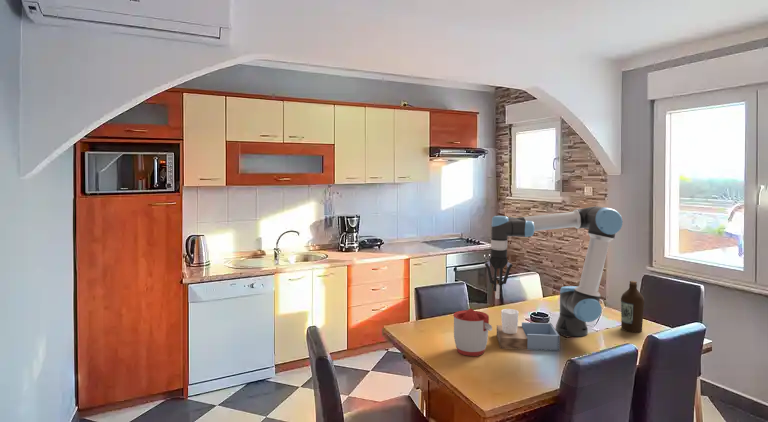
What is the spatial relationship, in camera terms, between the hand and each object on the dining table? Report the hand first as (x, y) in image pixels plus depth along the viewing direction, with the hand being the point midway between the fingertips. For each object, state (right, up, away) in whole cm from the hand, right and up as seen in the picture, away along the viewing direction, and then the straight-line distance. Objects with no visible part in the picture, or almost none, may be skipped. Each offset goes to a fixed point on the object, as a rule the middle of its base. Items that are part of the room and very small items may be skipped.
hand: (497, 298), depth 224 cm
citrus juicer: (-14, -23, -12) cm, 29 cm away
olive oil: (+73, -20, +18) cm, 77 cm away
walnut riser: (+7, -21, +1) cm, 22 cm away
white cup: (+6, -16, +1) cm, 17 cm away
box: (+20, -21, -1) cm, 29 cm away
